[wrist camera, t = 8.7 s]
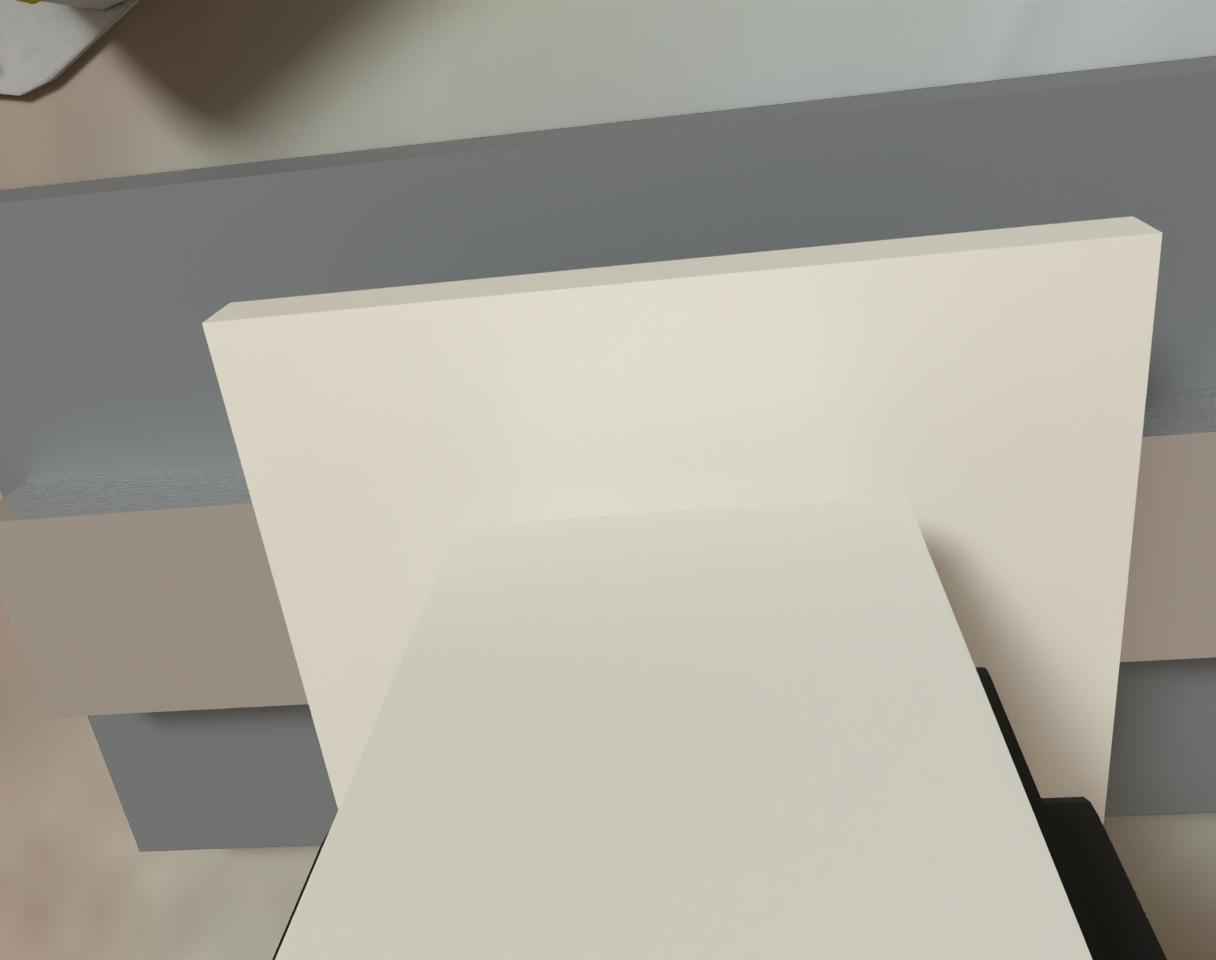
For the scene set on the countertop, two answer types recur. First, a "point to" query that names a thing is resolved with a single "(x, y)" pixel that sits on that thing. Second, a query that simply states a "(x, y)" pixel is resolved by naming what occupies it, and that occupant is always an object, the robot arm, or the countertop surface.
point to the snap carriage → (720, 439)
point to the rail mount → (506, 246)
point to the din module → (687, 757)
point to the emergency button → (49, 37)
